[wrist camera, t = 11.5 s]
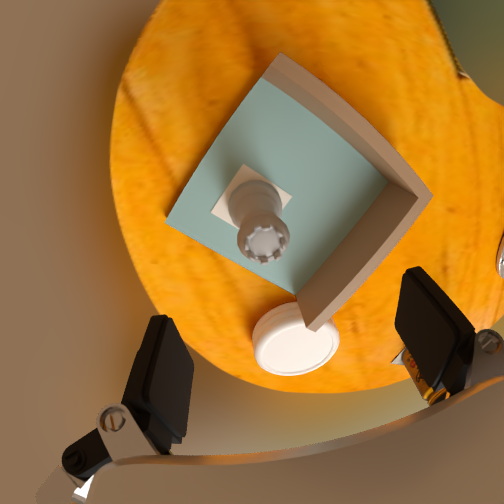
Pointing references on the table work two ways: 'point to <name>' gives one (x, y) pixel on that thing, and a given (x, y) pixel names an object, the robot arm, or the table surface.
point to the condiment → (419, 379)
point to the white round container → (292, 342)
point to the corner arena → (306, 188)
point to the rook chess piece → (259, 221)
